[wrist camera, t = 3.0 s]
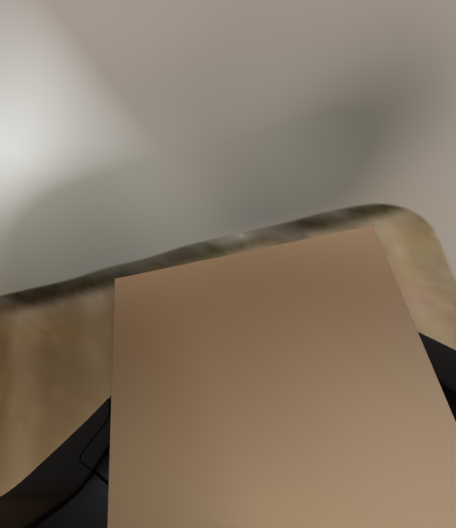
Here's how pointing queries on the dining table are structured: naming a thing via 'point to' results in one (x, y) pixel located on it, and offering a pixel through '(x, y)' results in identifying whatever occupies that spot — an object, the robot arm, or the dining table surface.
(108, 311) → the dining table surface
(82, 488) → the robot arm
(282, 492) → the block
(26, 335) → the dining table surface
